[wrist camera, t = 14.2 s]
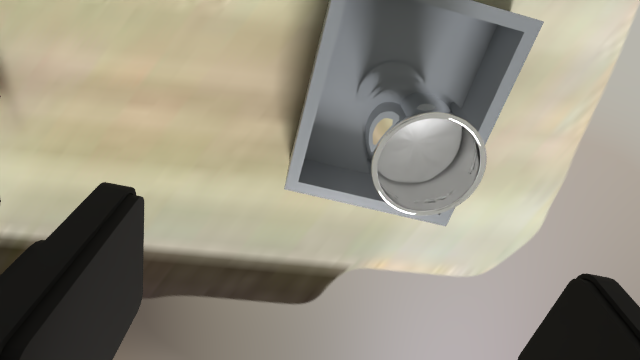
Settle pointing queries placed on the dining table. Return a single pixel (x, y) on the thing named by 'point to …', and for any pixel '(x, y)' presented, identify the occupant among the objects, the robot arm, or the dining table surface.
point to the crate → (415, 50)
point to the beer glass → (417, 142)
